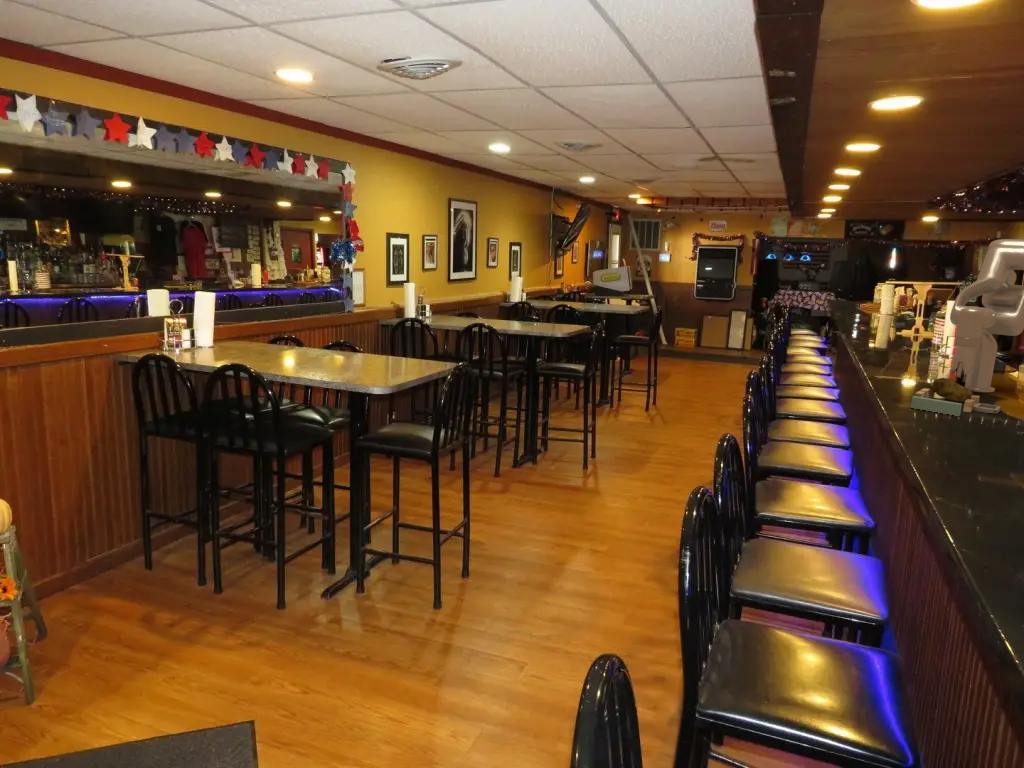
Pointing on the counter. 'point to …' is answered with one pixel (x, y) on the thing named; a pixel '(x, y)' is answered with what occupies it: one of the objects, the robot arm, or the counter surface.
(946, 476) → the counter surface
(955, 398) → the potato
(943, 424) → the counter surface
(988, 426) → the counter surface
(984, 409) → the grey tray
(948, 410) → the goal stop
